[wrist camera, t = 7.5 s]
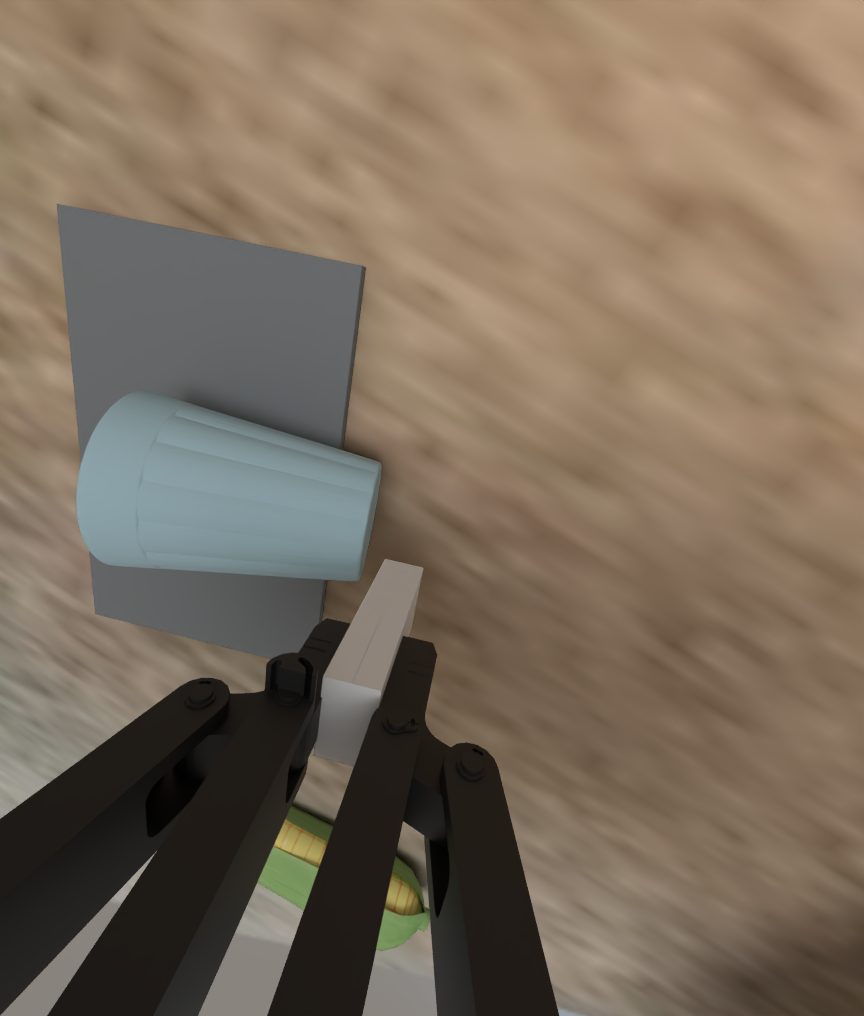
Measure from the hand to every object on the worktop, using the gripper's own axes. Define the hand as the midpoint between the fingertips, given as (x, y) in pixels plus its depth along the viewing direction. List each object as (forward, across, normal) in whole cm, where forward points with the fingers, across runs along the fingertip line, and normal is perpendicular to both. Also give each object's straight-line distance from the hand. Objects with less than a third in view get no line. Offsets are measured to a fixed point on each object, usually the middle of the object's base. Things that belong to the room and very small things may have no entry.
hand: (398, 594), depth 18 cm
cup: (+4, +2, -1) cm, 5 cm away
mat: (+7, +12, 0) cm, 14 cm away
